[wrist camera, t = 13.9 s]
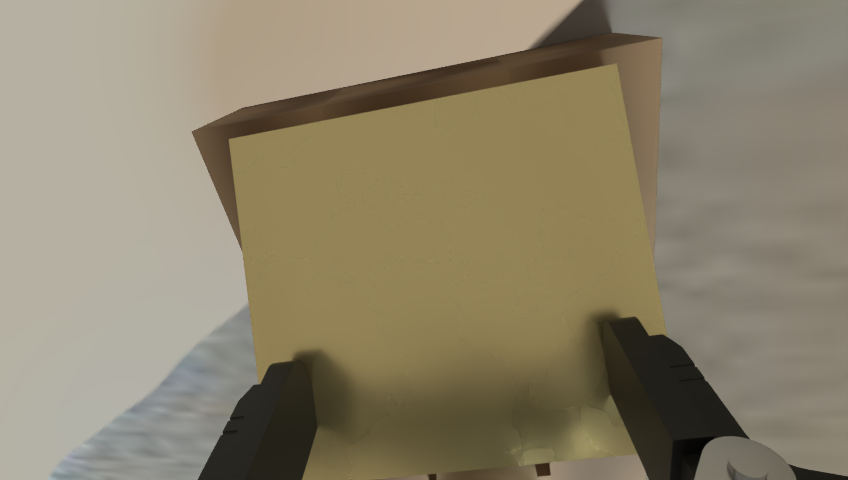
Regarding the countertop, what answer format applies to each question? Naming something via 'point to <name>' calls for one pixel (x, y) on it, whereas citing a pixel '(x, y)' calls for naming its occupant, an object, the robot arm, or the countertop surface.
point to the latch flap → (451, 274)
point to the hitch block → (631, 53)
